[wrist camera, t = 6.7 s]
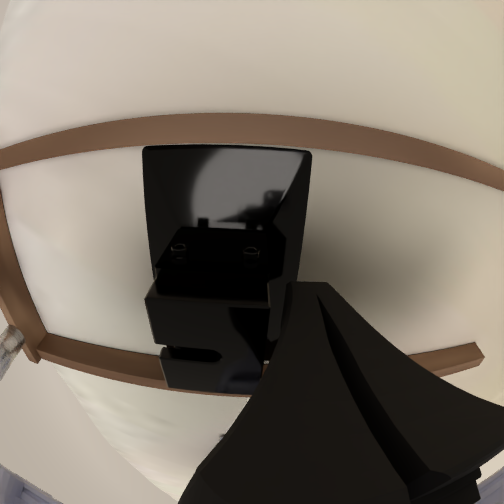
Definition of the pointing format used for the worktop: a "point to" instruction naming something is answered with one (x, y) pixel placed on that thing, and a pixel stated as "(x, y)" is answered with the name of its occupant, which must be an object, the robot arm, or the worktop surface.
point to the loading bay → (201, 131)
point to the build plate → (221, 257)
